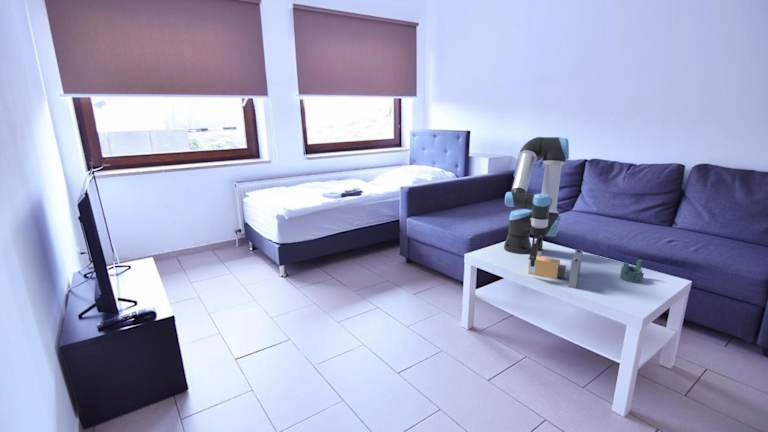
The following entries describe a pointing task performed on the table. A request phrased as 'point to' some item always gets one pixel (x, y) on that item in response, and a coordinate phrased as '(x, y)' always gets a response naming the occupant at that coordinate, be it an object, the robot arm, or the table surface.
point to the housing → (575, 268)
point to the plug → (548, 268)
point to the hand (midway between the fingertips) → (534, 267)
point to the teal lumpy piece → (632, 272)
